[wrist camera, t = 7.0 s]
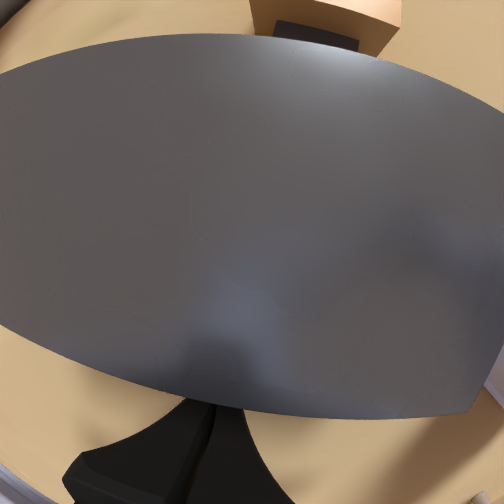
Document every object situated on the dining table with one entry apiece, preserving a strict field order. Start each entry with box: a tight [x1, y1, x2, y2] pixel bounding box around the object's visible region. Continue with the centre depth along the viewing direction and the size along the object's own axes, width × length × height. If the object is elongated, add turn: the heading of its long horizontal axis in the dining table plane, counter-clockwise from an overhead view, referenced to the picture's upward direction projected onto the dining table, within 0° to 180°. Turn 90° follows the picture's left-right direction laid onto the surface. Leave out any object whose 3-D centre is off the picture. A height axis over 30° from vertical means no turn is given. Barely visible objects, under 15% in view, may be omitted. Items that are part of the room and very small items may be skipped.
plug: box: [249, 0, 402, 57], centre depth 8 cm, size 16×4×4 cm, turn 166°
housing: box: [0, 34, 504, 420], centre depth 7 cm, size 6×12×6 cm, turn 82°
